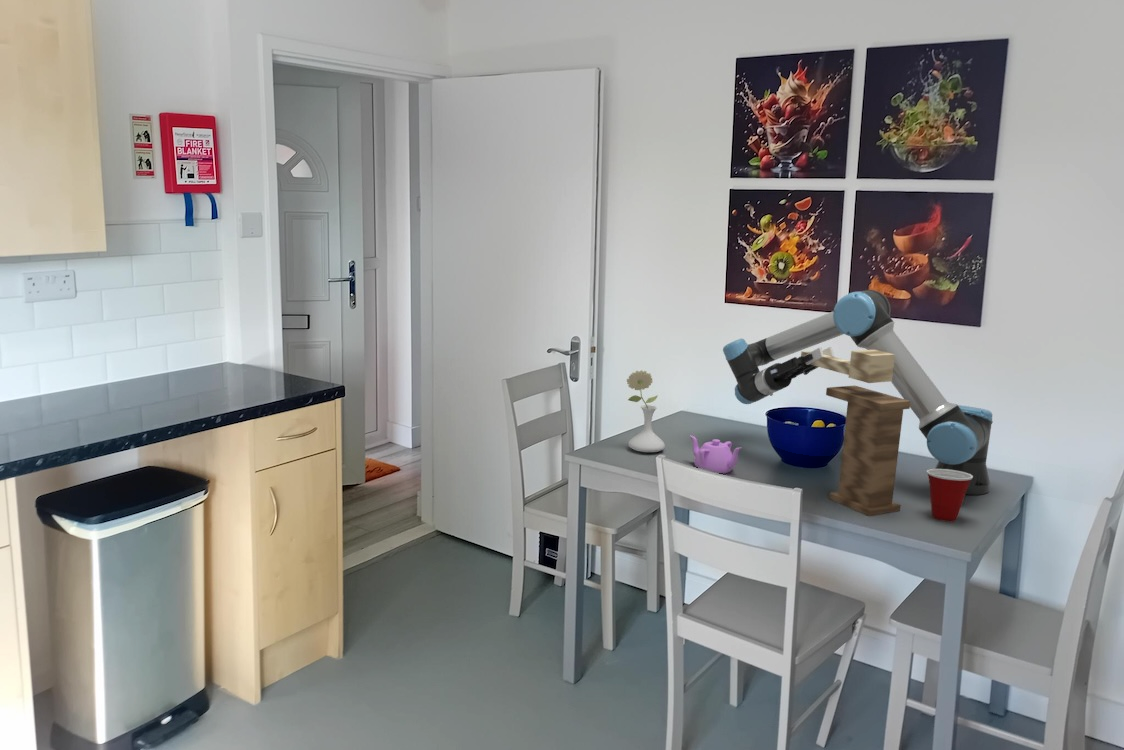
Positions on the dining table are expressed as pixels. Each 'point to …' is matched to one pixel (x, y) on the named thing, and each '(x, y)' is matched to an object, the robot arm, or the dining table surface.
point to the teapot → (715, 456)
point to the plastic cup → (947, 492)
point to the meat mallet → (861, 365)
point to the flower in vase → (646, 437)
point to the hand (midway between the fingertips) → (826, 352)
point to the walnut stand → (869, 449)
